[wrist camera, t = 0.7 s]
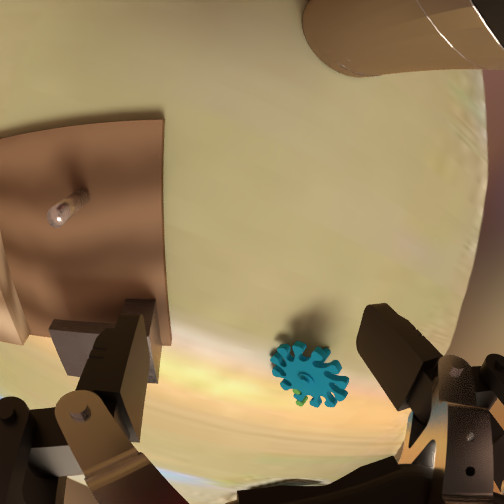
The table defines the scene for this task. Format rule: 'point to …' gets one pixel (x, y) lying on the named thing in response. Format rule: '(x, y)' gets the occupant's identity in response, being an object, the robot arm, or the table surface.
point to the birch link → (10, 306)
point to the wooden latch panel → (85, 221)
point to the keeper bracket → (85, 333)
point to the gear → (309, 374)
